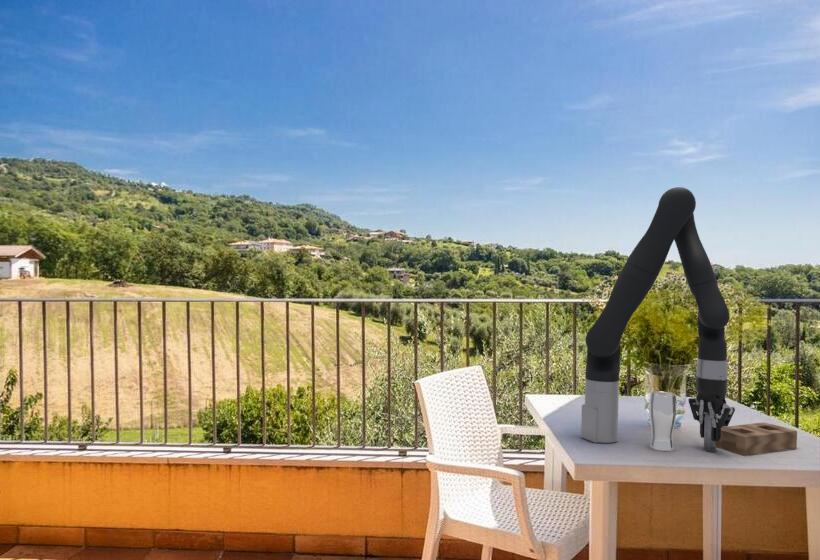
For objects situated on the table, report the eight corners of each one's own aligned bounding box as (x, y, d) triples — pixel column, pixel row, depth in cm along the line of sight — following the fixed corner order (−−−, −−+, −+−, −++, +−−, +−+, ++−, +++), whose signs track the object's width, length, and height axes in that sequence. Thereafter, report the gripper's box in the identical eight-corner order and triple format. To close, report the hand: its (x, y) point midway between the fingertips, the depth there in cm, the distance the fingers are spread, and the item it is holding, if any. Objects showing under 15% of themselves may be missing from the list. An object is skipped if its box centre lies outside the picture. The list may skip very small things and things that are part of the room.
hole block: (745, 455, 166) (745, 437, 166) (713, 445, 176) (714, 427, 176) (796, 448, 174) (797, 430, 174) (763, 439, 183) (764, 422, 183)
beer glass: (652, 443, 177) (654, 390, 177) (678, 448, 173) (680, 393, 172) (644, 448, 172) (645, 393, 171) (670, 453, 167) (672, 397, 167)
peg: (710, 452, 169) (711, 415, 169) (701, 449, 172) (702, 413, 172) (718, 451, 170) (719, 414, 170) (709, 448, 173) (710, 412, 173)
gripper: (680, 372, 176) (679, 434, 176) (723, 381, 163) (721, 447, 163) (700, 371, 178) (699, 431, 179) (744, 379, 166) (742, 444, 166)
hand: (710, 439), depth 171 cm, fingers closed on peg, 3 cm apart
